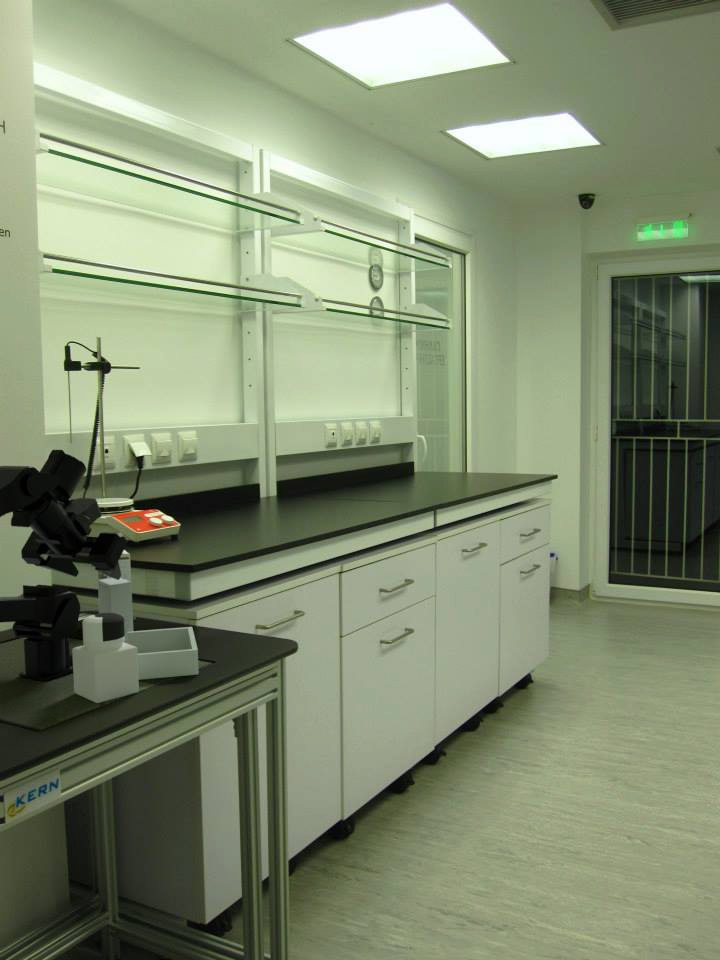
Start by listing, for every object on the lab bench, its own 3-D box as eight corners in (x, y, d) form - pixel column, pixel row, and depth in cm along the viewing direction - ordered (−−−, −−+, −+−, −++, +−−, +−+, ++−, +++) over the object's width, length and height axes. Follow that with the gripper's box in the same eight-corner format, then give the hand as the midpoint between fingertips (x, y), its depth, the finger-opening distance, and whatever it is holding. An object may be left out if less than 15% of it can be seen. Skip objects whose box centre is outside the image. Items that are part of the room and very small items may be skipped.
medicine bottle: (115, 682, 141) (112, 607, 140) (139, 692, 136) (136, 614, 135) (73, 693, 136) (69, 615, 135) (96, 704, 131) (92, 623, 130)
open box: (127, 680, 142) (126, 655, 142) (128, 654, 157) (127, 631, 157) (198, 674, 145) (197, 650, 144) (192, 648, 160) (192, 626, 159)
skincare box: (100, 644, 164) (97, 579, 163) (122, 640, 167) (119, 576, 166) (112, 651, 159) (109, 584, 158) (135, 647, 162) (132, 581, 161)
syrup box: (98, 622, 181) (95, 551, 180) (128, 618, 183) (125, 548, 182) (103, 628, 176) (100, 555, 174) (133, 624, 178) (130, 552, 177)
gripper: (118, 484, 148) (160, 541, 159) (29, 483, 155) (75, 536, 166) (88, 539, 141) (134, 594, 152) (-3, 535, 148) (47, 587, 160)
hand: (98, 576), depth 158 cm, fingers open, 9 cm apart
